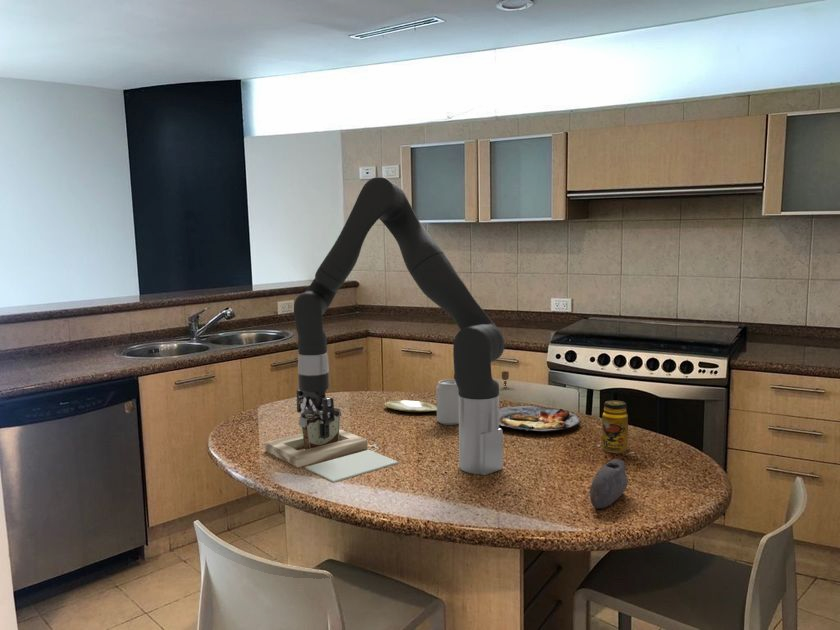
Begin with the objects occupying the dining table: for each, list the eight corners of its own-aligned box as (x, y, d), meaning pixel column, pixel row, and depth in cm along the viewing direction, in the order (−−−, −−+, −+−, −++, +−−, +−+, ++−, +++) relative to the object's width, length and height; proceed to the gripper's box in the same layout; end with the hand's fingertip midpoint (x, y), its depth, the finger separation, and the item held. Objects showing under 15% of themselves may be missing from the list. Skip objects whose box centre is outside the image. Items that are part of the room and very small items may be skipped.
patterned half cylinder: (326, 441, 177) (324, 404, 176) (342, 446, 173) (341, 408, 172) (289, 454, 167) (287, 415, 166) (306, 459, 164) (304, 419, 162)
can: (467, 420, 193) (467, 379, 192) (455, 427, 187) (454, 385, 186) (445, 417, 197) (444, 377, 196) (432, 423, 191) (431, 382, 190)
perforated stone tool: (605, 517, 128) (606, 482, 127) (579, 511, 131) (579, 477, 130) (632, 492, 140) (633, 459, 139) (608, 487, 143) (608, 455, 142)
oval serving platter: (497, 415, 198) (497, 408, 198) (483, 425, 189) (483, 418, 189) (395, 403, 215) (394, 397, 215) (377, 411, 206) (377, 405, 205)
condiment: (604, 455, 163) (605, 406, 161) (594, 443, 171) (595, 397, 169) (634, 454, 163) (635, 405, 161) (623, 443, 171) (623, 396, 170)
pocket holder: (367, 448, 170) (367, 439, 170) (297, 467, 158) (297, 457, 157) (333, 434, 183) (332, 426, 182) (265, 451, 170) (265, 442, 170)
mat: (398, 463, 159) (398, 461, 159) (333, 483, 148) (333, 480, 148) (368, 451, 168) (368, 449, 168) (305, 468, 157) (305, 466, 157)
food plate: (588, 418, 194) (588, 407, 193) (567, 442, 173) (567, 429, 173) (506, 409, 205) (506, 398, 205) (477, 430, 185) (476, 418, 184)
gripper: (341, 373, 165) (344, 437, 167) (311, 364, 175) (314, 425, 178) (315, 377, 160) (317, 443, 162) (286, 368, 171) (288, 430, 173)
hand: (316, 433), depth 170 cm, fingers open, 8 cm apart
